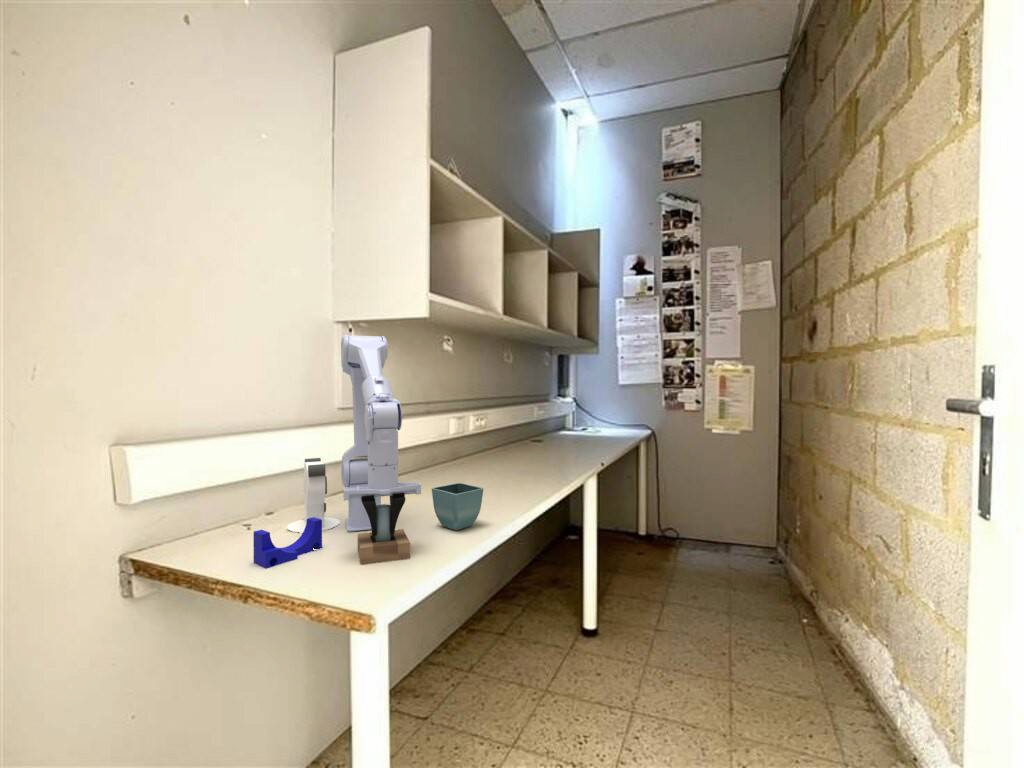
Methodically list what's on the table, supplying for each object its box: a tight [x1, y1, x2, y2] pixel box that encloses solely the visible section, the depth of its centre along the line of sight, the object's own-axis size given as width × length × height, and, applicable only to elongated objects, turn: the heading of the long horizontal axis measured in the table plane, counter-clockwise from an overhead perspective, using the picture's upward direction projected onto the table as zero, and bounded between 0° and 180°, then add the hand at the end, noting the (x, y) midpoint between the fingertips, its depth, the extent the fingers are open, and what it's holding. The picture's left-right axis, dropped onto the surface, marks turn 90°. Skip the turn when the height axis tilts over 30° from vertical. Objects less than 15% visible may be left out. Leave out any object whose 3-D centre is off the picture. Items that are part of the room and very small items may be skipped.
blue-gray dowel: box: [376, 503, 391, 543], centre depth 95 cm, size 3×3×8 cm
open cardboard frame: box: [357, 528, 411, 565], centre depth 95 cm, size 9×9×3 cm
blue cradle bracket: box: [253, 517, 323, 569], centre depth 94 cm, size 12×4×6 cm, turn 143°
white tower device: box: [286, 457, 341, 533], centre depth 113 cm, size 12×11×15 cm
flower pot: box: [431, 482, 485, 531], centre depth 113 cm, size 9×9×9 cm
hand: (383, 533), depth 95 cm, fingers closed on blue-gray dowel, 3 cm apart
